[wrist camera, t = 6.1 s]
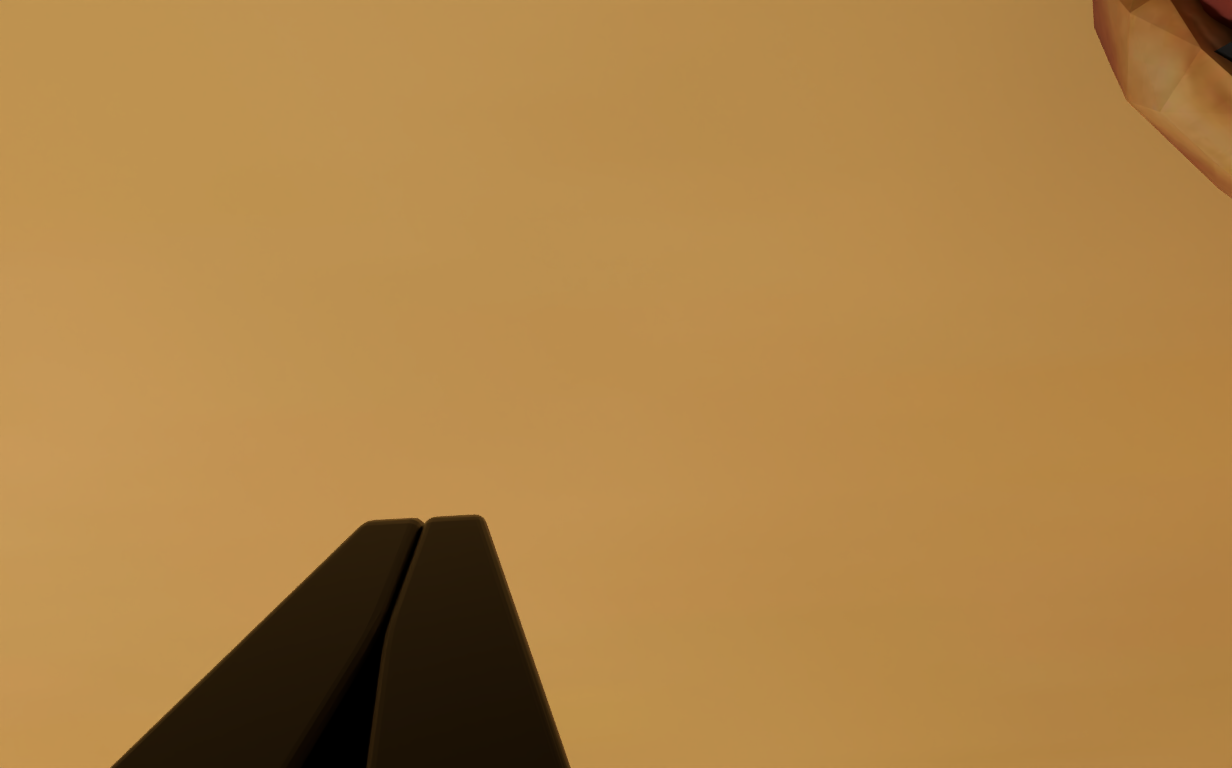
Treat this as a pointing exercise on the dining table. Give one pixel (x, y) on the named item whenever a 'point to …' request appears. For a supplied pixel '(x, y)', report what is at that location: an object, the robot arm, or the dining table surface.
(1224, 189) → the hot dog
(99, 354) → the dining table surface
